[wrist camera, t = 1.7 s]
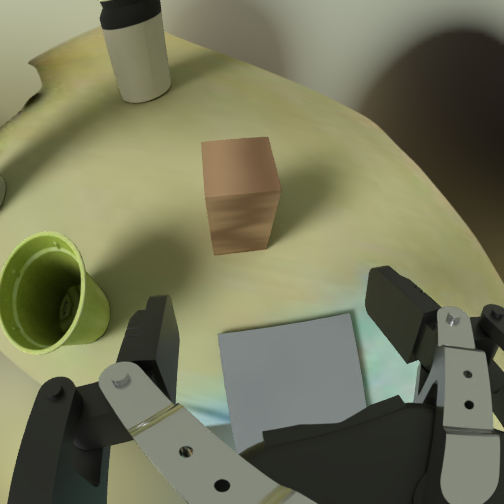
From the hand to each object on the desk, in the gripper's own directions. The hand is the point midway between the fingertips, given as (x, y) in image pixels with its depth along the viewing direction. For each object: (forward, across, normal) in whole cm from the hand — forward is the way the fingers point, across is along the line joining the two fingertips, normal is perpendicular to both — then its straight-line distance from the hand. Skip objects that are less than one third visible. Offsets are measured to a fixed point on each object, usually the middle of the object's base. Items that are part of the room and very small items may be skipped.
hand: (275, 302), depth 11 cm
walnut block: (+18, 0, +3) cm, 18 cm away
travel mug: (+37, +11, -15) cm, 41 cm away
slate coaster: (+7, -3, +14) cm, 16 cm away
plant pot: (+13, +16, +8) cm, 22 cm away
